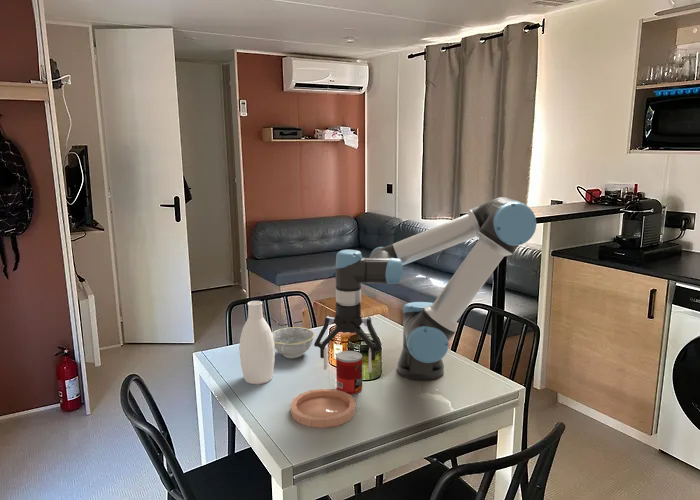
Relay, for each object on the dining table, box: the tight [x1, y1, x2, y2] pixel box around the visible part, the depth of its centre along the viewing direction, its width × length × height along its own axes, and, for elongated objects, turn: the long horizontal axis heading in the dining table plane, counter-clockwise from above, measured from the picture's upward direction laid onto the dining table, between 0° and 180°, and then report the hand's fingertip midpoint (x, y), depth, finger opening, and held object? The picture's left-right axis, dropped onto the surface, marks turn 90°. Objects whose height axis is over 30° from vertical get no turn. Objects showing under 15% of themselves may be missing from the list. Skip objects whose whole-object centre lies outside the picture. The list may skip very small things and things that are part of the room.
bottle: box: [238, 300, 276, 385], centre depth 170 cm, size 11×11×25 cm
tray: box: [290, 388, 357, 429], centre depth 151 cm, size 18×18×2 cm
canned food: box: [335, 350, 363, 395], centre depth 163 cm, size 8×8×11 cm
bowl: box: [271, 326, 315, 359], centre depth 190 cm, size 16×16×8 cm
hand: (347, 369), depth 163 cm, fingers open, 13 cm apart
